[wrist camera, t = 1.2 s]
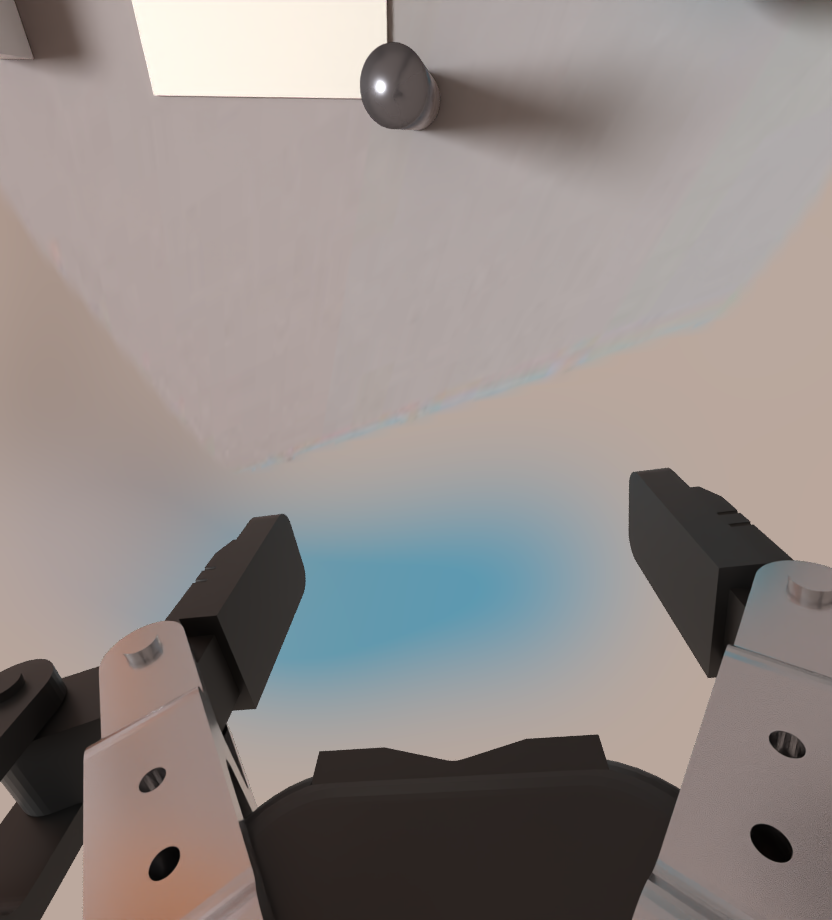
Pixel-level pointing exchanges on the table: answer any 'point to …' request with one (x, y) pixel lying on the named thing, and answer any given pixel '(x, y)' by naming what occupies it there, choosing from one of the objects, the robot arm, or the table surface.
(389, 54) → the post
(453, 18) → the table surface
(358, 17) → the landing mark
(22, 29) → the wall
